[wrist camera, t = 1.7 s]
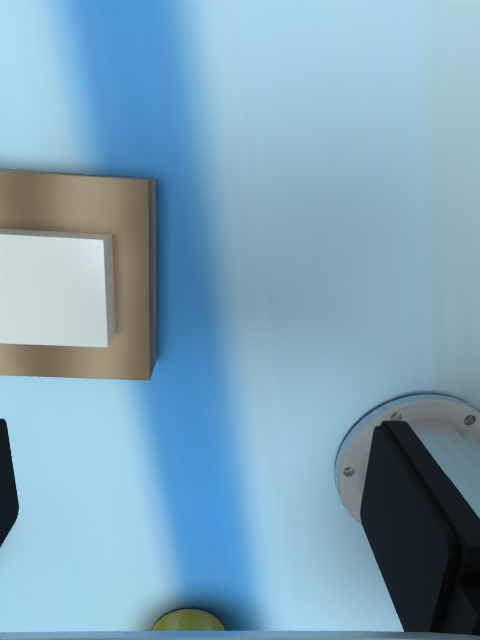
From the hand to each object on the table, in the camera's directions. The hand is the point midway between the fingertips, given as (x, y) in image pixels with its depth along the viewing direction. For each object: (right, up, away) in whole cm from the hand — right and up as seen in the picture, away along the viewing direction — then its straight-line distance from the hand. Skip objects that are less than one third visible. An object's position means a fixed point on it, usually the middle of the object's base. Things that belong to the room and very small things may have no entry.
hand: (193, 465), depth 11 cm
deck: (-10, +7, +17) cm, 21 cm away
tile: (-10, +6, +14) cm, 18 cm away
